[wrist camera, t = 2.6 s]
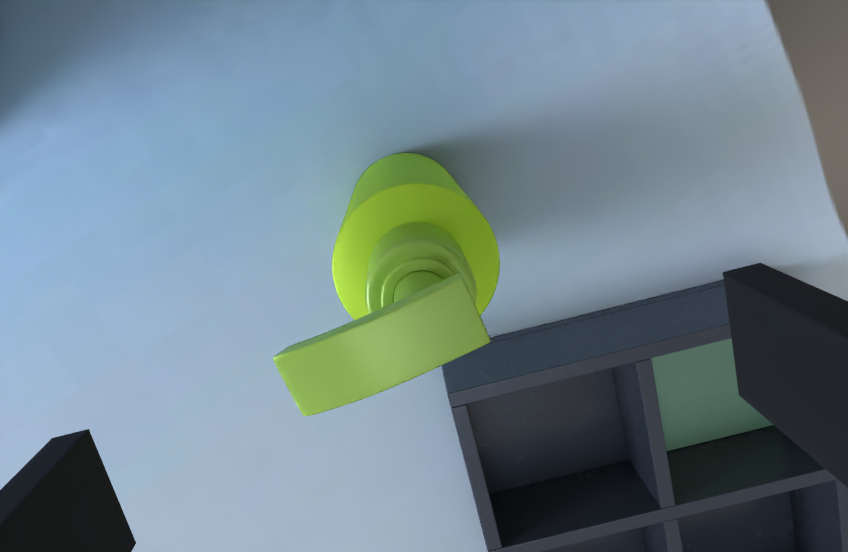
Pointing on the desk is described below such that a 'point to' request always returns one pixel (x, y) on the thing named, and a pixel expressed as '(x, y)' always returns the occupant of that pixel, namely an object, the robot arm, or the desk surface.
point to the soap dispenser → (398, 286)
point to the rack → (634, 439)
